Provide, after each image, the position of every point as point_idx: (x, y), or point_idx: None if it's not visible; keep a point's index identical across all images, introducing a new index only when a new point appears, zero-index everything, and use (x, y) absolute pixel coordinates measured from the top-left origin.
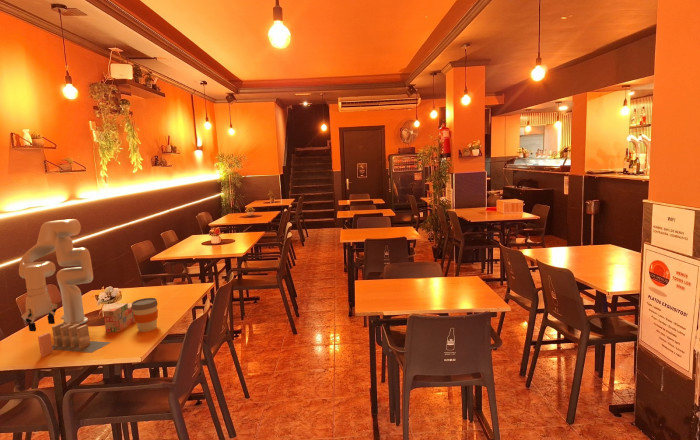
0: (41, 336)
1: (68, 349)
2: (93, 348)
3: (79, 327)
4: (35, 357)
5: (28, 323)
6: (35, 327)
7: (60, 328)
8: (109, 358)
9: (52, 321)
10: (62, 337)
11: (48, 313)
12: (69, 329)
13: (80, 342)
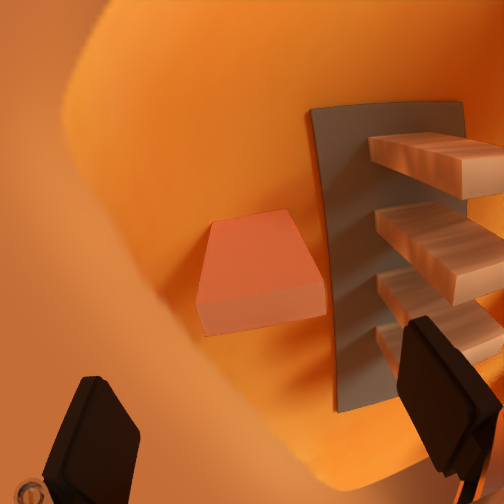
0: (220, 328)
1: (350, 287)
2: (379, 383)
3: None
4: (195, 184)
5: (45, 486)
6: (131, 469)
7: (449, 273)
8: (312, 469)
9: (409, 408)
10: (406, 243)
11: (491, 466)
12: None
13: (387, 358)
